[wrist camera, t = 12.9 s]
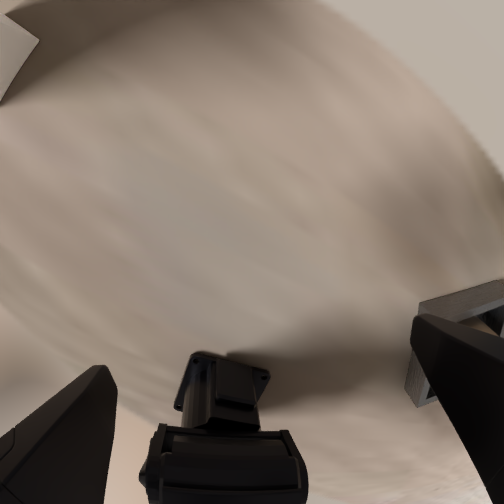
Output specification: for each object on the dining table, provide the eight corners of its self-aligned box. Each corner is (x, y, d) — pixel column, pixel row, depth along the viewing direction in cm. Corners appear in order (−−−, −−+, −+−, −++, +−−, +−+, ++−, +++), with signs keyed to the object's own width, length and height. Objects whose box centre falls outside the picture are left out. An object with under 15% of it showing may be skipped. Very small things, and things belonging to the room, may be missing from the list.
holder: (404, 388, 27) (417, 407, 24) (419, 302, 24) (438, 320, 21) (476, 360, 28) (490, 375, 25) (496, 280, 24) (515, 292, 22)
